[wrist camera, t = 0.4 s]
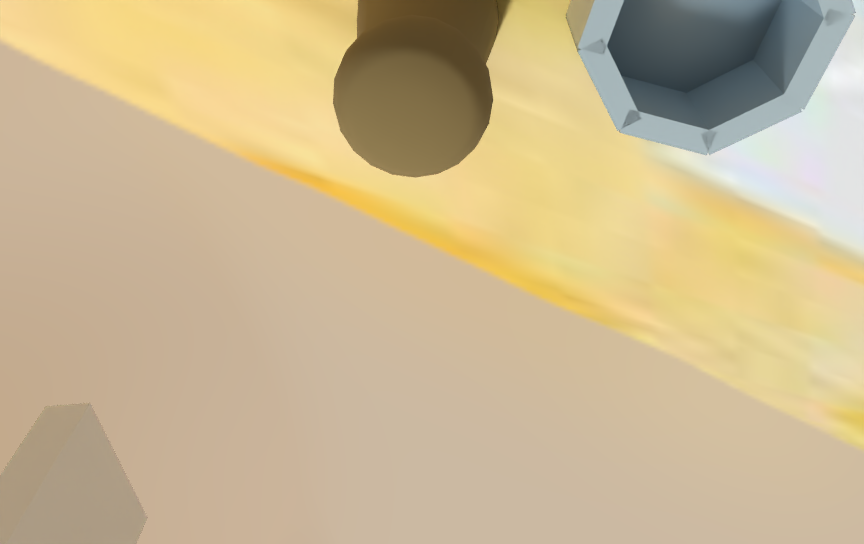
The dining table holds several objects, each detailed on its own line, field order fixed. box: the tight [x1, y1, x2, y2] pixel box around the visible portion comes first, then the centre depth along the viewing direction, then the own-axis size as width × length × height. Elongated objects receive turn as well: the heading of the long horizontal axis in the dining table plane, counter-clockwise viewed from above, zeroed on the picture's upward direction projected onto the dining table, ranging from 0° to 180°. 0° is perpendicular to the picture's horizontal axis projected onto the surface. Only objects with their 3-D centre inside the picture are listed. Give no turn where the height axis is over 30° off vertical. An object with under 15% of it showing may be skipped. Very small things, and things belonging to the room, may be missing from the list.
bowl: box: [566, 0, 856, 155], centre depth 31 cm, size 9×9×5 cm
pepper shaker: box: [333, 0, 499, 177], centre depth 29 cm, size 6×6×11 cm
